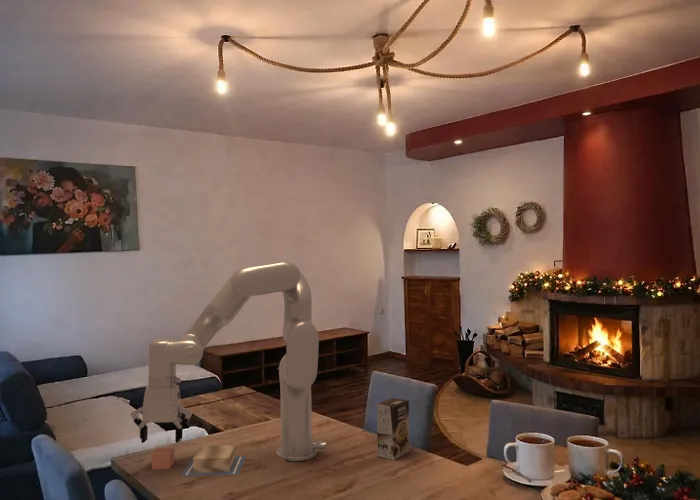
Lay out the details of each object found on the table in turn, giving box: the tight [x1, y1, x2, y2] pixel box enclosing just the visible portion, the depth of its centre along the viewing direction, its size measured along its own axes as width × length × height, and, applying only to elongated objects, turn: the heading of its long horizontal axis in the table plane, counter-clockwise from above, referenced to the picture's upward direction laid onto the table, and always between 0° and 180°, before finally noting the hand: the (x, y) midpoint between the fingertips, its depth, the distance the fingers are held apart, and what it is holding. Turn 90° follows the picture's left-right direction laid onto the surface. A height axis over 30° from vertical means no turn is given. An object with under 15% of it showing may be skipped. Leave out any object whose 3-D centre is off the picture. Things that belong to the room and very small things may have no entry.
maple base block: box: [192, 444, 236, 473], centre depth 158 cm, size 10×10×4 cm
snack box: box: [376, 397, 410, 461], centre depth 168 cm, size 9×6×16 cm
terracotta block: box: [151, 446, 175, 471], centre depth 158 cm, size 5×5×6 cm
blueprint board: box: [180, 455, 247, 477], centre depth 158 cm, size 16×14×1 cm
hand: (161, 441), depth 158 cm, fingers open, 9 cm apart
